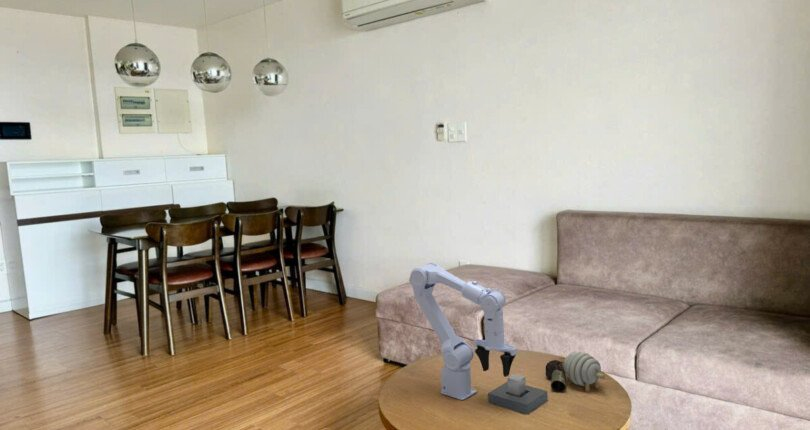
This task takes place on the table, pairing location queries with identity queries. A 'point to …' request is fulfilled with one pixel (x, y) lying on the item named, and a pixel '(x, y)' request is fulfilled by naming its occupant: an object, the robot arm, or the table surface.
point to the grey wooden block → (516, 385)
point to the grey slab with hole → (518, 398)
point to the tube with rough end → (556, 375)
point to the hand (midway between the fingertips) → (496, 372)
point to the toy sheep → (582, 369)
